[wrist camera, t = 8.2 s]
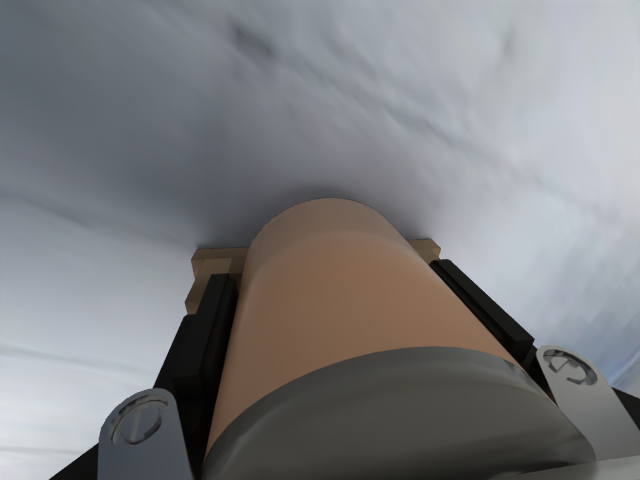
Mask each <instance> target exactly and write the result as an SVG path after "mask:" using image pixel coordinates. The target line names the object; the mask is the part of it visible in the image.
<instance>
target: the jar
mask: <svg viewBox="0 0 640 480" xmlns="http://www.w3.org/2000/svg"><path fill="white" fill-rule="evenodd" d="M590 462H596V456H595V453H594V449H593V447H592V446H591V444H590V443H589V441H588V440H587V439H586V437H585V436H584V435H583V434H582V433H581V432H580V431H579V430H578V429H577V427H576V426H575V425H574V424H573V423H572V422H571V421H570V420H569V419H568V418H567V416H566V415H565V414H564V413H563V412H562V411H561V410H560V409H559V408H558V407H557V406H556V404H555V403H554V402H553V401H552V400H551V399H550V398H549V397H548V396H547V395H546V393H545V392H544V391H543V390H542V389H541V388H540V387H539V386H538V385H537V384H536V382H535V381H534V380H533V379H532V378H531V377H530V376H529V375H528V374H527V373H526V372H525V370H524V369H523V368H522V367H521V366H520V365H519V364H518V363H517V362H516V361H515V359H514V358H513V357H512V356H511V355H510V354H509V353H508V352H507V351H506V350H505V349H504V347H503V346H502V345H501V344H500V343H499V342H498V341H497V340H496V339H495V338H494V336H493V335H492V334H491V333H490V332H489V331H488V330H487V329H486V328H485V327H484V326H483V324H482V323H481V322H480V321H479V320H478V319H477V318H476V317H475V316H474V315H473V313H472V312H471V311H470V310H469V309H468V308H467V307H466V306H465V305H464V304H463V303H462V301H461V300H460V299H459V298H458V297H457V296H456V295H455V294H454V293H453V292H452V290H451V289H450V288H449V287H448V286H447V285H446V284H445V283H444V282H443V281H442V279H441V278H440V277H439V276H438V275H437V274H436V273H435V272H434V271H433V270H432V269H431V267H430V266H429V265H428V264H427V263H426V262H425V261H424V260H423V259H422V258H421V256H420V255H419V254H418V253H417V252H416V251H415V250H414V249H413V248H412V247H411V246H410V244H409V243H408V242H407V241H406V240H405V239H404V238H403V237H402V236H401V235H400V233H399V232H398V231H397V230H396V229H395V228H394V227H393V226H392V225H391V224H390V223H389V221H388V220H387V219H386V218H384V217H383V216H382V215H381V214H380V213H378V212H377V211H375V210H374V209H372V208H370V207H368V206H366V205H364V204H362V203H359V202H355V201H352V200H347V199H341V198H323V199H315V200H310V201H306V202H303V203H300V204H297V205H294V206H292V207H290V208H288V209H286V210H284V211H282V212H281V213H279V214H278V215H277V216H275V217H274V218H272V219H271V220H270V221H269V222H268V223H267V224H266V225H265V226H264V227H263V228H262V229H261V230H260V231H259V233H258V234H257V235H256V237H255V238H254V240H253V242H252V243H251V246H250V248H249V250H248V252H247V256H246V260H245V264H244V269H243V274H242V279H241V283H240V288H239V293H238V298H237V303H236V308H235V312H234V317H233V322H232V327H231V332H230V337H229V341H228V346H227V351H226V356H225V361H224V366H223V370H222V375H221V380H220V385H219V390H218V395H217V399H216V404H215V409H214V414H213V419H212V424H211V429H210V433H209V438H208V443H207V448H206V453H205V458H204V462H203V467H202V472H201V477H200V480H488V479H494V478H500V477H506V476H512V475H518V474H524V473H530V472H536V471H542V470H548V469H554V468H560V467H566V466H572V465H578V464H584V463H590Z"/></svg>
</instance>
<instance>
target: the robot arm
mask: <svg viewBox="0 0 640 480" xmlns="http://www.w3.org/2000/svg"><path fill="white" fill-rule="evenodd" d="M428 265H429V266H430V267H431V269H432V270H433V271H434V272H435V273H436V274H437V275H438V276H439V277H440V278H441V279H442V281H443V282H444V283H445V284H446V285H447V286H448V287H449V288H450V289H451V290H452V292H453V293H454V294H455V295H456V296H457V297H458V298H459V299H460V300H461V301H462V303H463V304H464V305H465V306H466V307H467V308H468V309H469V310H470V311H471V312H472V313H473V315H474V316H475V317H476V318H477V319H478V320H479V321H480V322H481V323H482V324H483V326H484V327H485V328H486V329H487V330H488V331H489V332H490V333H491V334H492V335H493V336H494V338H495V339H496V340H497V341H498V342H499V343H500V344H501V345H502V346H503V347H504V349H505V350H506V351H507V352H508V353H509V354H510V355H511V356H512V357H513V358H514V359H515V361H516V362H517V363H518V364H519V365H520V366H521V367H522V368H523V369H524V370H525V372H526V373H527V374H528V375H529V376H530V377H531V378H532V379H533V380H534V381H535V382H536V384H537V385H538V386H539V387H540V388H541V389H542V390H543V391H544V392H545V393H546V395H547V396H548V397H549V398H550V399H551V400H552V401H553V402H554V403H555V404H556V406H557V407H558V408H559V409H560V410H561V411H562V412H563V413H564V414H565V415H566V416H567V418H568V419H569V420H570V421H571V422H572V423H573V424H574V425H575V426H576V427H577V429H578V430H579V431H580V432H581V433H582V434H583V435H584V436H585V437H586V439H587V440H588V441H589V443H590V444H591V446H592V447H593V449H594V453H595V456H596V462H590V463H584V464H578V465H572V466H566V467H560V468H554V469H548V470H542V471H536V472H530V473H524V474H518V475H512V476H506V477H500V478H494V479H488V480H640V399H639V398H637V397H634V396H632V395H630V394H627V393H625V392H622V391H620V390H618V389H615V388H613V387H611V386H610V385H609V383H608V382H607V380H606V379H605V377H604V376H603V374H602V373H601V372H600V371H599V369H598V368H597V367H596V366H595V365H593V364H592V363H591V362H590V361H589V360H587V359H586V358H584V357H582V356H581V355H579V354H578V353H575V352H573V351H571V350H569V349H566V348H563V347H559V346H553V345H545V346H541V347H540V348H538V349H537V348H536V347H535V346H533V345H532V344H533V342H534V340H535V339H534V338H533V337H532V336H531V335H530V334H529V333H528V332H527V331H526V330H525V329H524V328H522V327H521V326H520V325H519V324H518V323H517V322H516V321H515V320H514V319H513V318H512V317H511V316H510V315H508V314H507V313H506V312H505V311H504V310H503V309H502V308H501V307H500V306H499V305H498V304H497V303H496V302H494V301H493V300H492V299H491V298H490V297H489V296H488V295H487V294H486V293H485V292H484V291H483V290H482V289H480V288H479V287H478V286H477V285H476V284H475V283H474V282H473V281H472V280H471V279H470V278H469V277H468V276H466V275H465V274H464V273H463V272H462V271H461V270H460V269H459V268H458V267H457V266H456V265H455V264H454V263H452V262H451V261H450V260H449V259H442V260H432V261H431V263H430V264H428ZM237 298H238V290H237V283H236V278H235V277H230V275H229V273H220V274H211V276H210V278H209V281H208V283H207V286H206V289H205V291H204V294H203V296H202V299H201V301H200V304H199V307H198V309H197V312H196V314H187V315H186V316H184V318H183V320H182V322H181V324H180V327H179V329H178V331H177V334H176V336H175V338H174V340H173V343H172V345H171V347H170V350H169V352H168V354H167V356H166V359H165V361H164V363H163V366H162V368H161V370H160V372H159V375H158V377H157V379H156V382H155V384H154V386H153V388H152V389H147V390H144V391H141V392H138V393H136V394H134V395H132V396H130V397H129V398H127V399H125V400H124V401H123V402H122V403H120V404H119V405H118V406H117V407H116V408H115V409H114V410H113V411H112V412H111V413H110V415H109V416H108V417H107V418H106V420H105V422H104V424H103V426H102V427H101V431H100V436H99V443H97V444H96V445H95V446H93V447H92V448H91V449H89V450H88V451H87V452H85V453H84V454H83V455H81V456H80V457H79V458H77V459H76V460H75V461H73V462H72V463H70V464H69V465H68V466H66V467H65V468H64V469H62V470H61V471H60V472H58V473H57V474H56V475H54V476H53V477H52V478H50V479H49V480H200V477H201V472H202V467H203V462H204V458H205V453H206V448H207V443H208V438H209V433H210V429H211V424H212V419H213V414H214V409H215V404H216V399H217V395H218V390H219V385H220V380H221V375H222V370H223V366H224V361H225V356H226V351H227V346H228V341H229V337H230V332H231V327H232V322H233V317H234V312H235V308H236V303H237Z"/></svg>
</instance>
